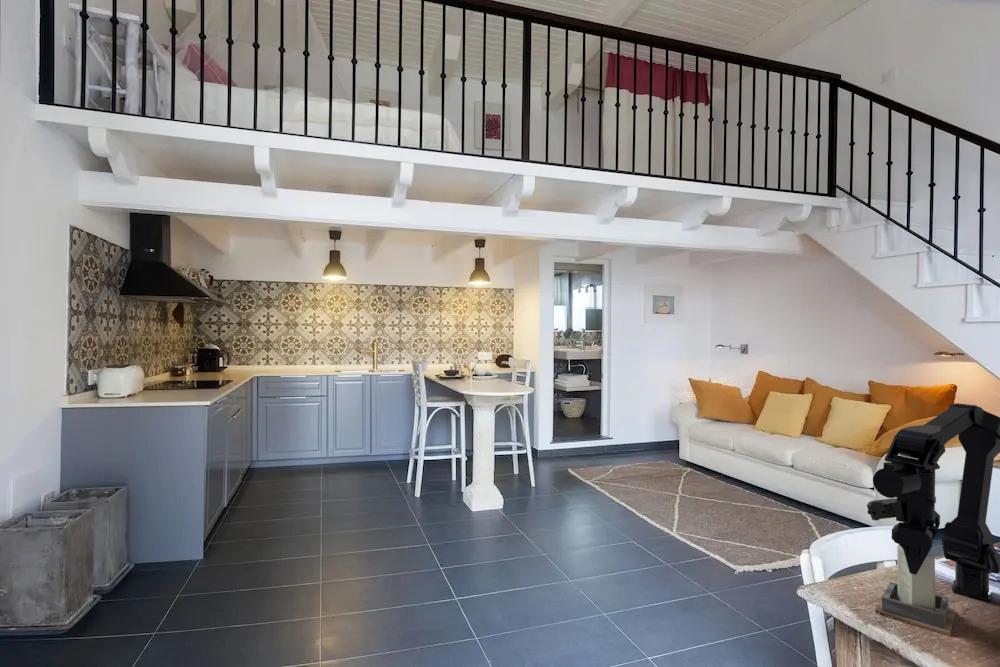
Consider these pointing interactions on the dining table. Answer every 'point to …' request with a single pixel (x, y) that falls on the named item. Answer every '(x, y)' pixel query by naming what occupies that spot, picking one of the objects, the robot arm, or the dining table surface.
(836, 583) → the dining table surface
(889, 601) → the box stand
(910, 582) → the skincare box
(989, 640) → the dining table surface
